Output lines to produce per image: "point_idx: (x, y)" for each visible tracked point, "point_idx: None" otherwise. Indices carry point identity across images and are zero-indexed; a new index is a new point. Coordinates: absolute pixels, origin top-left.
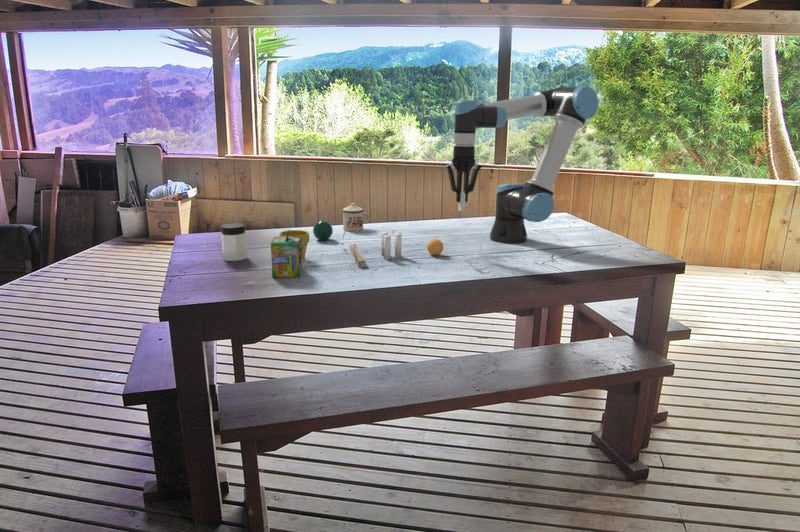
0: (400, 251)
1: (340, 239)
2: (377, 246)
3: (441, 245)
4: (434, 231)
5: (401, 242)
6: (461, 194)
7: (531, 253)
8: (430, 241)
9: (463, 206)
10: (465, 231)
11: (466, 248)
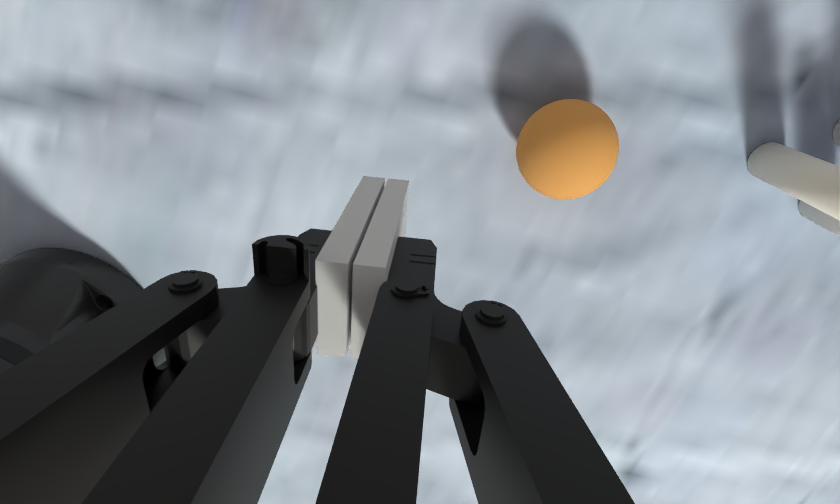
0: (783, 152)
1: (827, 490)
2: (745, 359)
3: (548, 115)
4: None
5: (807, 175)
6: (380, 263)
7: (3, 31)
8: (609, 160)
9: (370, 195)
10: None
11: None
